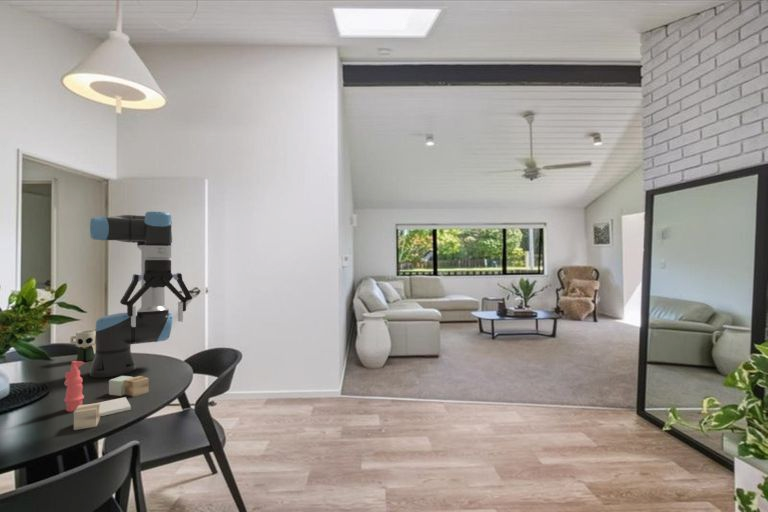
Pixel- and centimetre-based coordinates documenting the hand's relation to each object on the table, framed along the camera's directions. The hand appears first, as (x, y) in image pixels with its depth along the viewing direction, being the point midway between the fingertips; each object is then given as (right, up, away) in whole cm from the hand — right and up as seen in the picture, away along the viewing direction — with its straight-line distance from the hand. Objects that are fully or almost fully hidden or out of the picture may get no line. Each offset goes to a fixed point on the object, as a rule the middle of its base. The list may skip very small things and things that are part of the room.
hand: (157, 323), depth 125 cm
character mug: (-59, -25, +45) cm, 79 cm away
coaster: (-11, -25, -6) cm, 29 cm away
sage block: (-17, -25, +7) cm, 32 cm away
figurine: (-22, -26, -6) cm, 34 cm away
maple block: (-10, -26, -17) cm, 32 cm away
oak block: (-11, -25, +7) cm, 29 cm away
